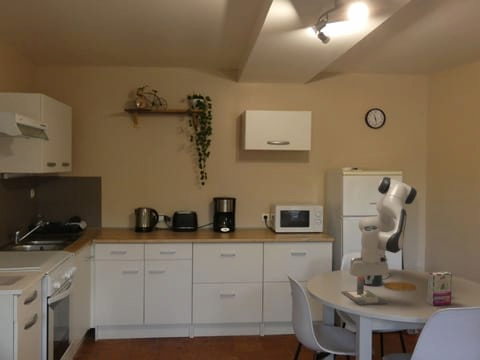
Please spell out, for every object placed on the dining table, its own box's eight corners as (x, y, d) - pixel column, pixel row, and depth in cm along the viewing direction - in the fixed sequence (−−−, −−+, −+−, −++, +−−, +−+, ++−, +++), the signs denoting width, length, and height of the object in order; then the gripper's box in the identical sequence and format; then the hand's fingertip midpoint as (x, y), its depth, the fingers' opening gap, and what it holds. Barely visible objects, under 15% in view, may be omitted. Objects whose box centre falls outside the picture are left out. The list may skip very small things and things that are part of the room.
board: (341, 292, 242) (341, 286, 242) (367, 291, 245) (368, 286, 245) (359, 305, 220) (359, 299, 220) (388, 304, 223) (388, 297, 223)
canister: (378, 287, 254) (379, 257, 253) (356, 284, 261) (357, 254, 260) (385, 283, 264) (385, 254, 264) (364, 279, 272) (364, 251, 271)
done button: (364, 298, 228) (364, 292, 228) (371, 298, 228) (371, 292, 228) (368, 300, 224) (368, 294, 224) (374, 300, 225) (374, 294, 225)
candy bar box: (444, 301, 229) (445, 271, 229) (451, 304, 224) (452, 273, 224) (426, 303, 226) (427, 272, 226) (433, 306, 222) (434, 274, 221)
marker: (355, 293, 238) (356, 273, 238) (361, 293, 239) (362, 273, 239) (358, 295, 235) (359, 275, 235) (364, 295, 236) (365, 274, 235)
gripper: (353, 259, 221) (352, 285, 222) (390, 258, 225) (389, 284, 225) (348, 256, 227) (347, 282, 228) (384, 255, 231) (383, 281, 231)
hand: (368, 283), depth 227 cm, fingers closed
